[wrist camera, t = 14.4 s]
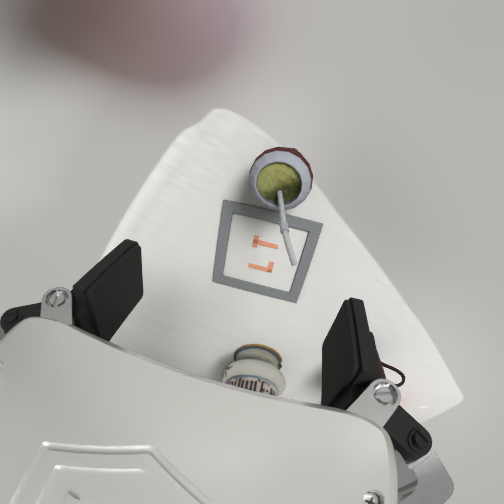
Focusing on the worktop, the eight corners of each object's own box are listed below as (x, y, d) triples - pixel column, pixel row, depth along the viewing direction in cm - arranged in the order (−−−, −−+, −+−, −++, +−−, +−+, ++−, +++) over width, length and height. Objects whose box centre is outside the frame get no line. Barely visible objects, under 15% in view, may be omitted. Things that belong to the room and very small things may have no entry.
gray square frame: (296, 301, 44) (296, 302, 44) (213, 280, 45) (212, 281, 45) (322, 223, 37) (322, 224, 37) (224, 199, 38) (223, 200, 38)
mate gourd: (272, 133, 32) (249, 146, 19) (327, 163, 33) (342, 196, 20) (247, 182, 36) (212, 226, 23) (299, 210, 37) (294, 268, 24)
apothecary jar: (289, 378, 54) (278, 452, 38) (234, 375, 57) (213, 445, 41) (286, 340, 49) (274, 426, 33) (223, 338, 51) (195, 417, 36)
